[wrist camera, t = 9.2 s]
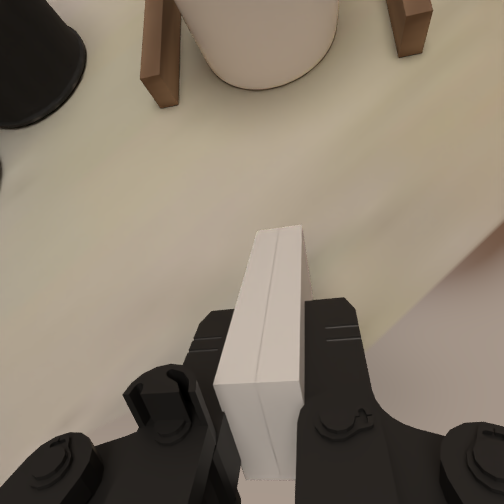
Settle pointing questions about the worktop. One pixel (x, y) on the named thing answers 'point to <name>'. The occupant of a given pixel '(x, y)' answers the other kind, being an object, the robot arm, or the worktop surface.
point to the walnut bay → (168, 42)
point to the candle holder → (261, 37)
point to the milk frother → (35, 61)
